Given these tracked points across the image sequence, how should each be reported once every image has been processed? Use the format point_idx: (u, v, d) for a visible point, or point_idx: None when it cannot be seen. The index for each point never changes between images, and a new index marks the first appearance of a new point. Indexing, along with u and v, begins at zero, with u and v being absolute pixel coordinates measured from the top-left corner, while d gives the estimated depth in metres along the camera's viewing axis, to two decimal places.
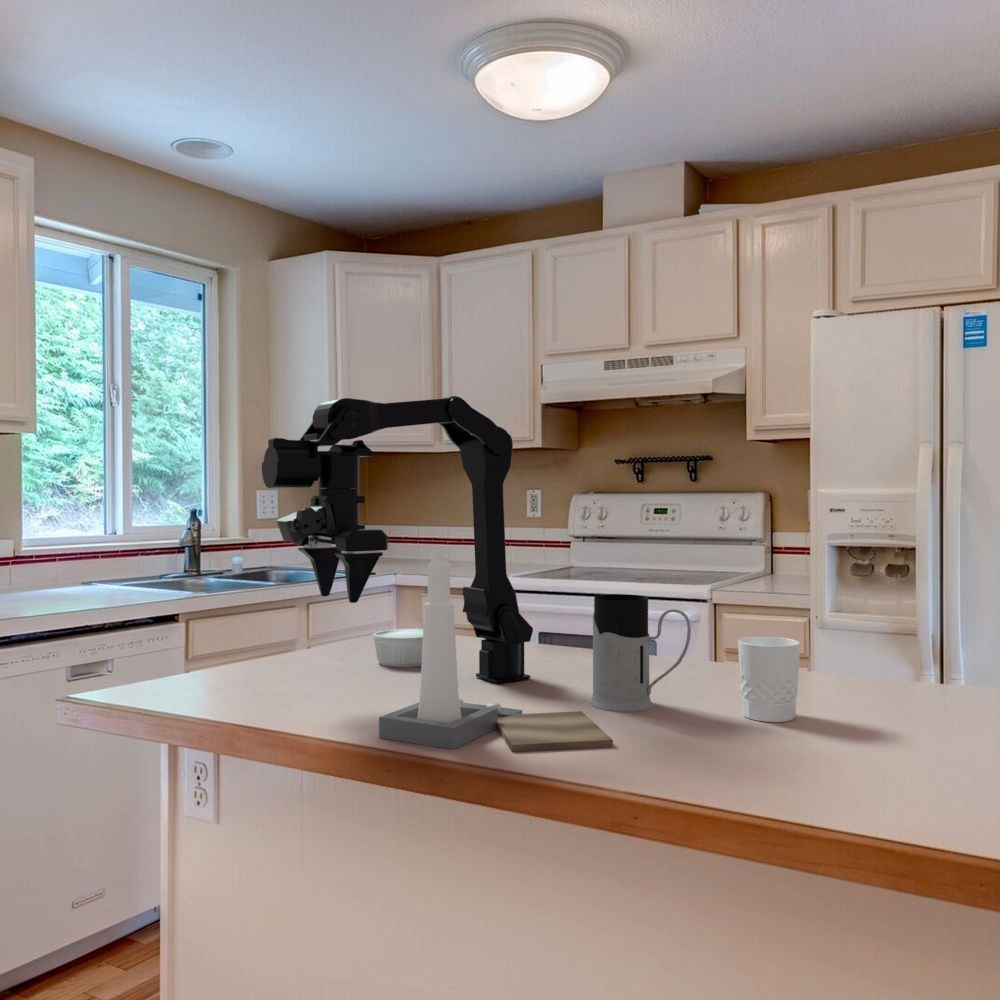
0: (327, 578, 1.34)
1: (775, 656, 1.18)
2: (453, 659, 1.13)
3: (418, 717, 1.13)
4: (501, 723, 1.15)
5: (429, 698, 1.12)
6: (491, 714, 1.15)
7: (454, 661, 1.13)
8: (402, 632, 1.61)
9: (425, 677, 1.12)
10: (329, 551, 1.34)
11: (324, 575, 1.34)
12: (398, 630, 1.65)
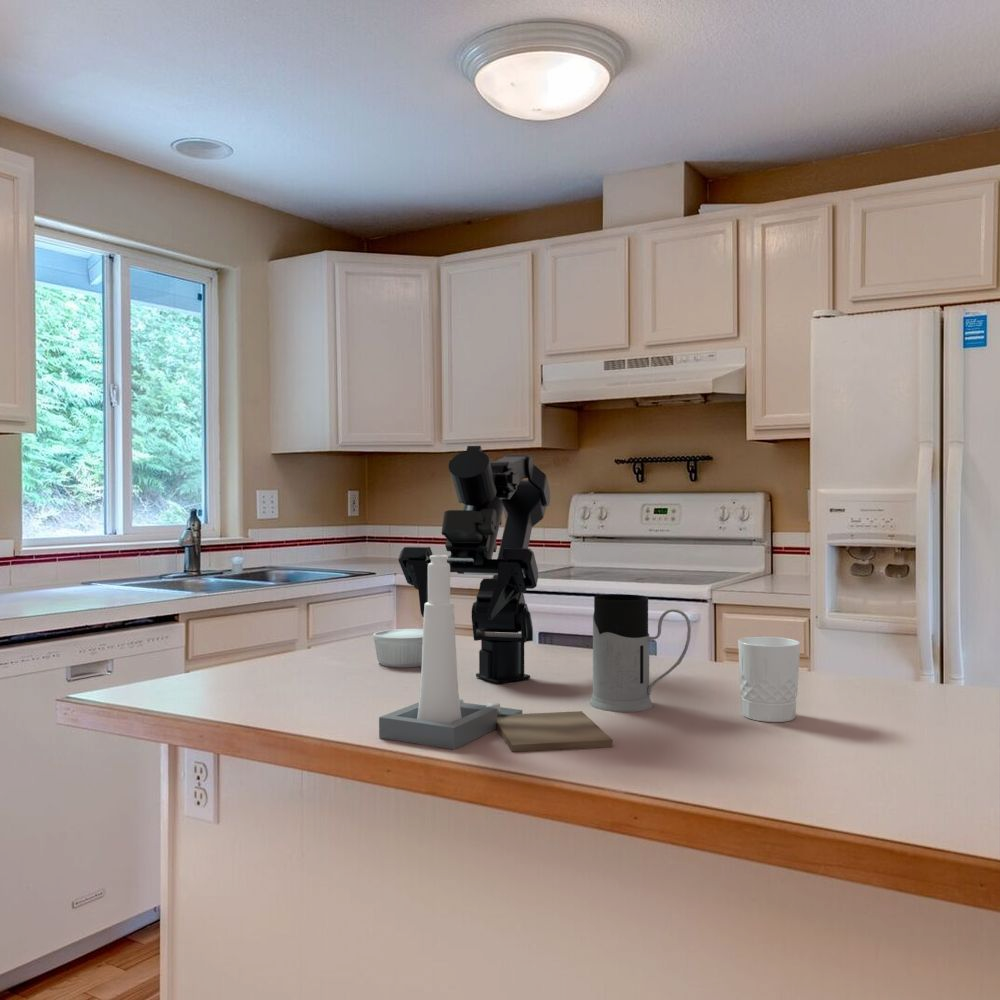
0: None
1: (775, 656, 1.18)
2: (453, 659, 1.13)
3: (418, 717, 1.13)
4: (501, 723, 1.15)
5: (429, 698, 1.12)
6: (491, 714, 1.15)
7: (454, 661, 1.13)
8: (402, 632, 1.61)
9: (425, 677, 1.12)
10: None
11: (427, 596, 1.24)
12: (398, 630, 1.65)
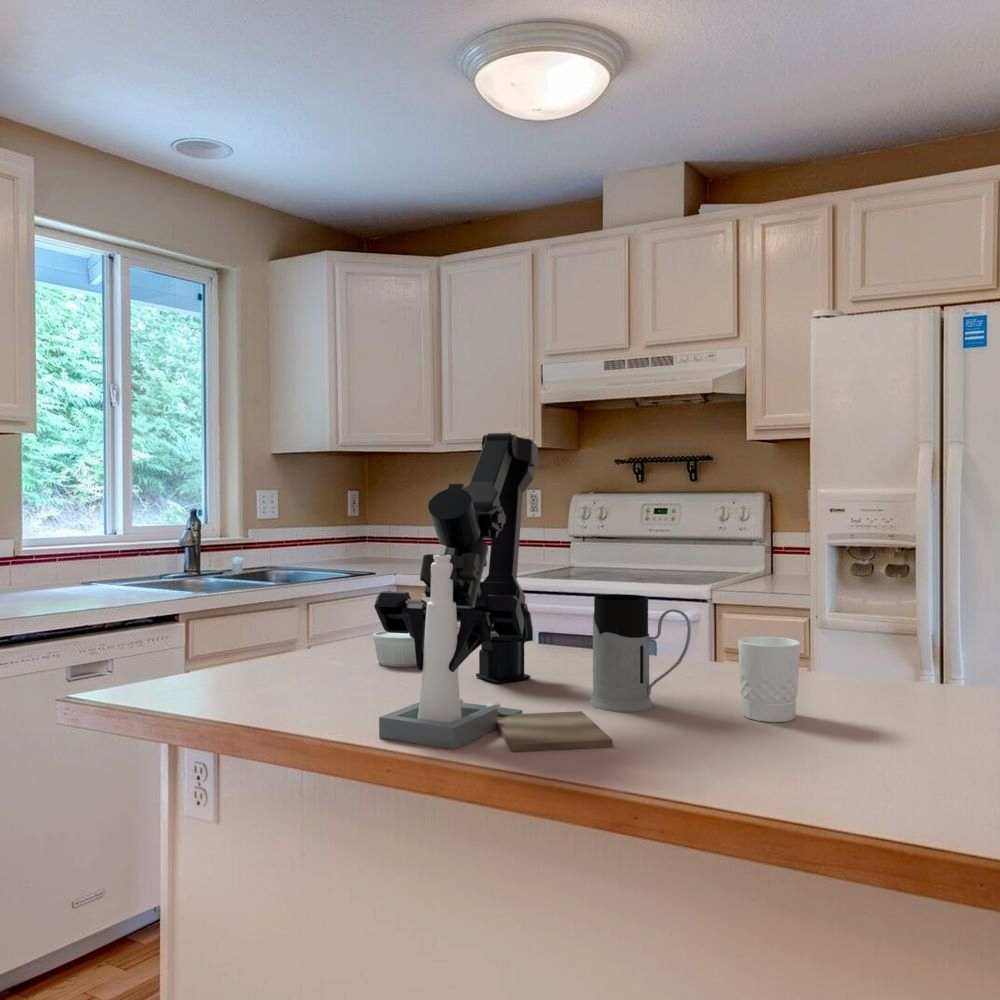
0: None
1: (775, 656, 1.18)
2: None
3: (418, 716, 1.13)
4: (501, 723, 1.15)
5: (430, 698, 1.12)
6: (491, 714, 1.15)
7: None
8: None
9: (426, 676, 1.12)
10: None
11: None
12: None
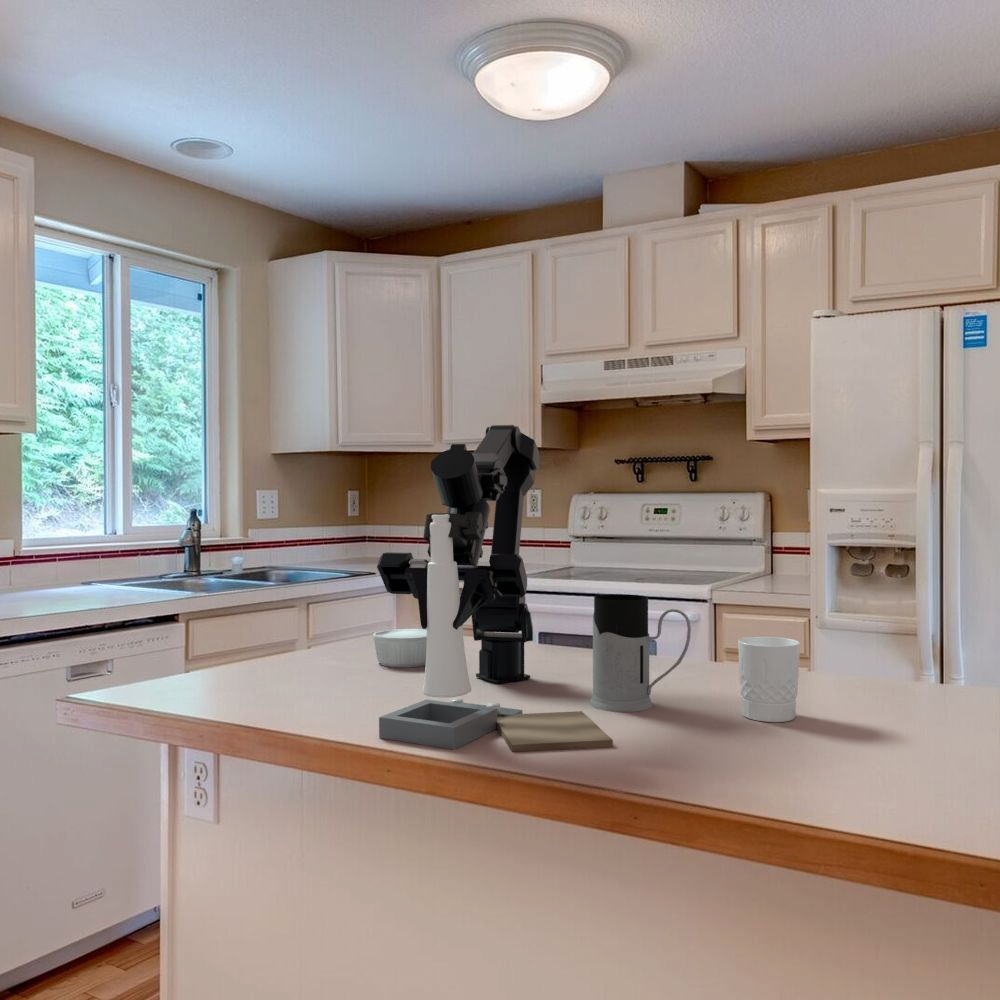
0: None
1: (775, 656, 1.18)
2: None
3: (425, 677, 1.13)
4: (501, 723, 1.15)
5: (436, 657, 1.12)
6: (491, 714, 1.15)
7: None
8: (402, 632, 1.61)
9: (431, 636, 1.12)
10: None
11: None
12: (398, 630, 1.65)
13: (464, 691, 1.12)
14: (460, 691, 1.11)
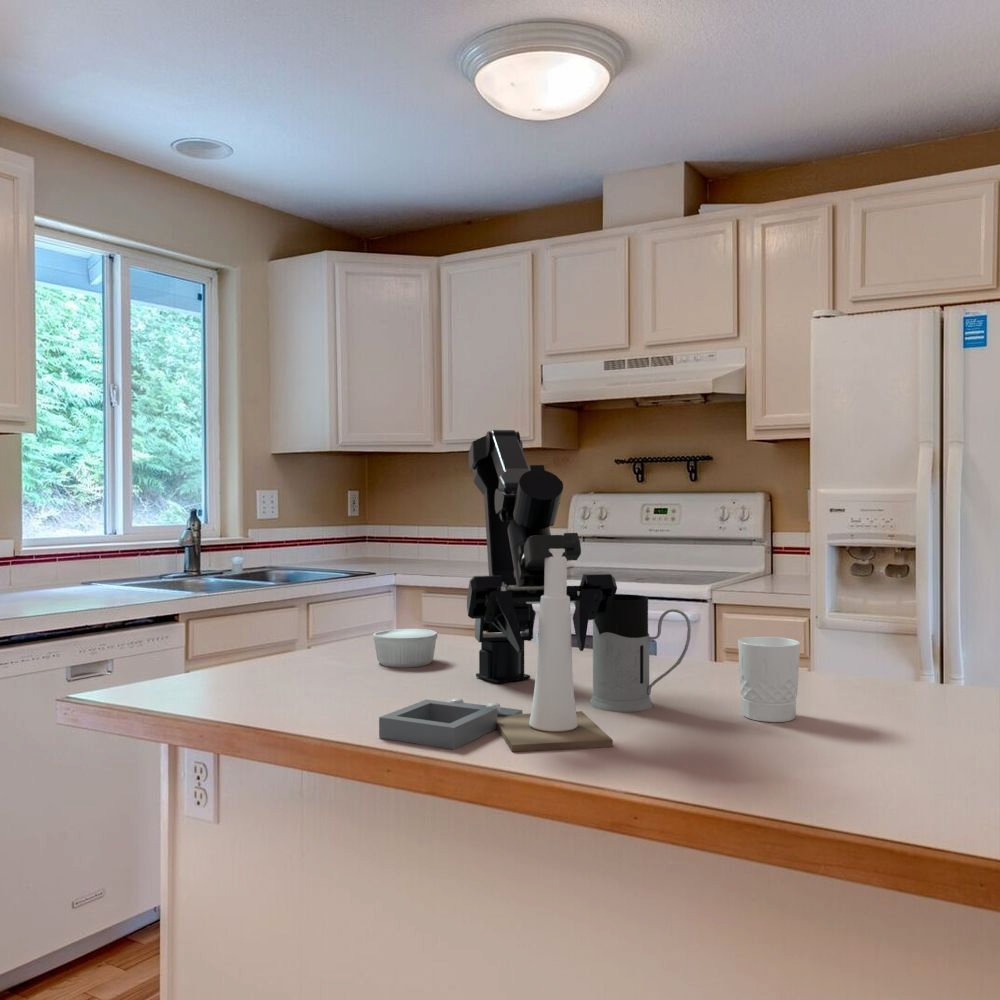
0: None
1: (775, 656, 1.18)
2: None
3: (540, 712, 1.12)
4: (501, 723, 1.15)
5: (555, 691, 1.12)
6: (491, 714, 1.15)
7: None
8: (402, 632, 1.61)
9: (549, 671, 1.12)
10: None
11: None
12: (398, 630, 1.65)
13: (577, 724, 1.13)
14: (575, 723, 1.13)
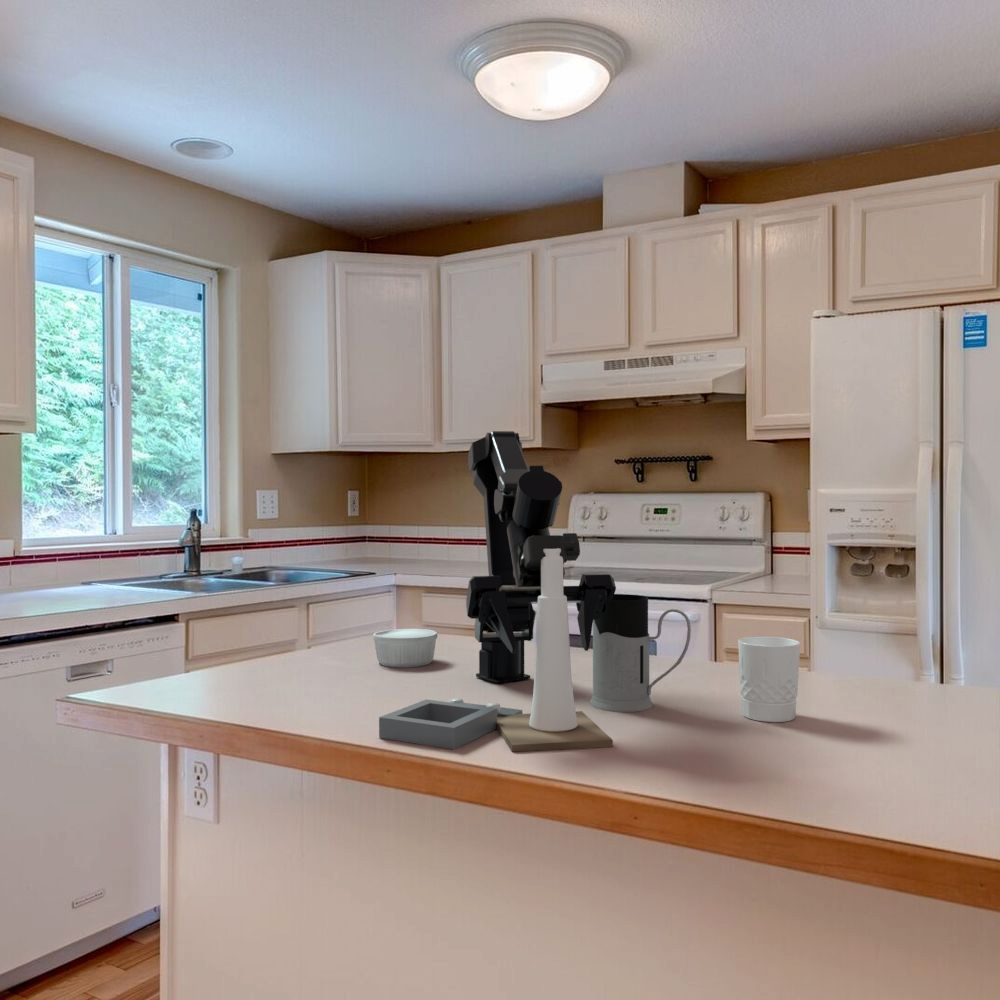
0: None
1: (775, 656, 1.18)
2: None
3: (539, 712, 1.12)
4: (501, 723, 1.15)
5: (554, 691, 1.12)
6: (491, 714, 1.15)
7: None
8: (402, 632, 1.61)
9: (548, 671, 1.12)
10: None
11: None
12: (398, 630, 1.65)
13: (577, 723, 1.13)
14: (575, 723, 1.13)
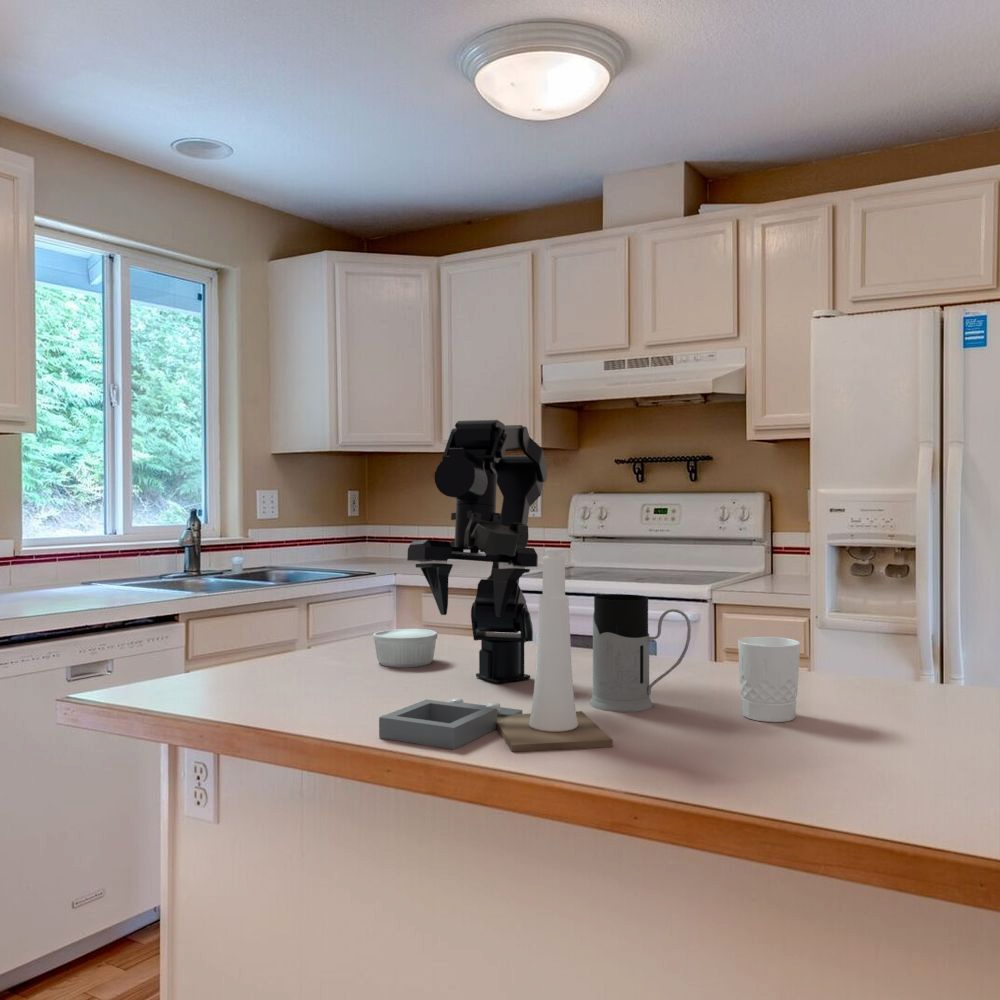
0: None
1: (775, 656, 1.18)
2: (570, 651, 1.14)
3: (540, 712, 1.12)
4: (501, 723, 1.15)
5: (555, 691, 1.12)
6: (491, 714, 1.15)
7: None
8: (402, 632, 1.61)
9: (549, 671, 1.12)
10: None
11: None
12: (398, 630, 1.65)
13: (577, 724, 1.13)
14: (575, 723, 1.13)
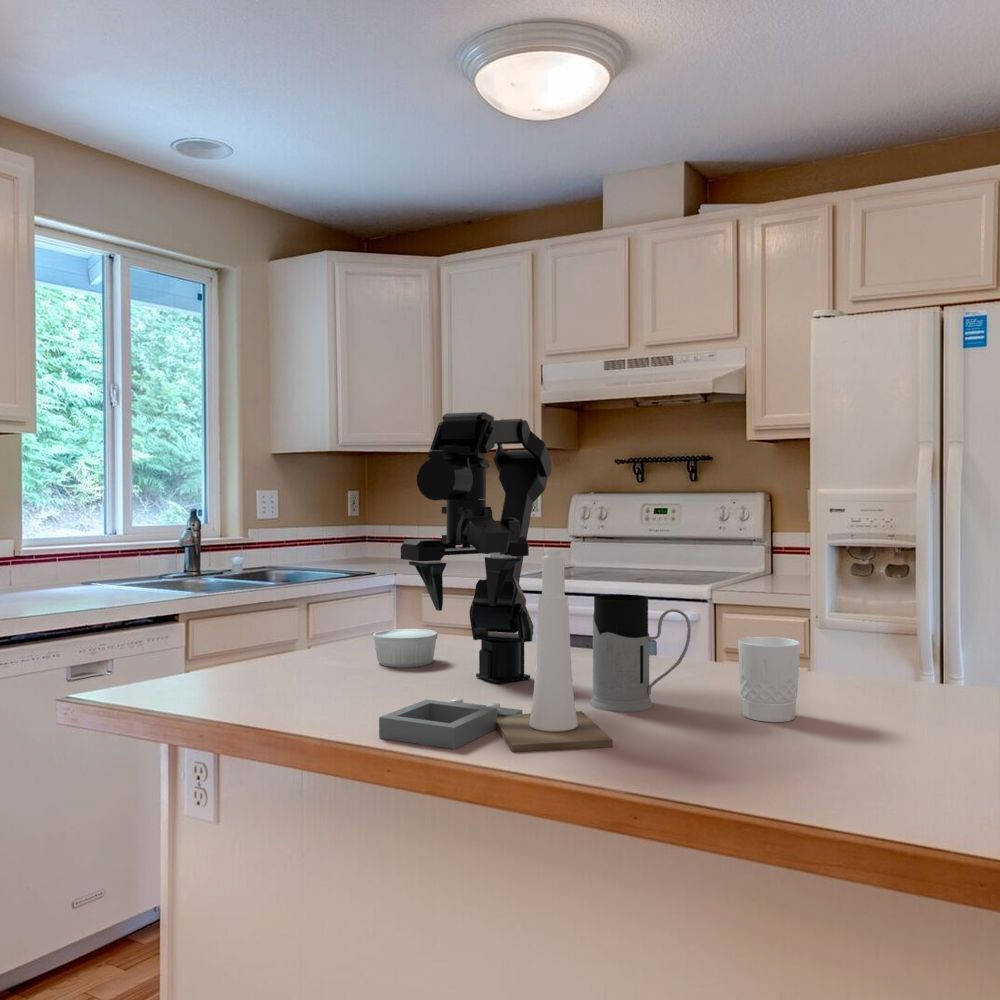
0: None
1: (775, 656, 1.18)
2: (570, 650, 1.14)
3: (540, 712, 1.12)
4: (501, 723, 1.15)
5: (555, 691, 1.12)
6: (491, 714, 1.15)
7: (570, 653, 1.14)
8: (402, 632, 1.61)
9: (549, 671, 1.12)
10: None
11: None
12: (398, 630, 1.65)
13: (577, 724, 1.13)
14: (575, 723, 1.13)
